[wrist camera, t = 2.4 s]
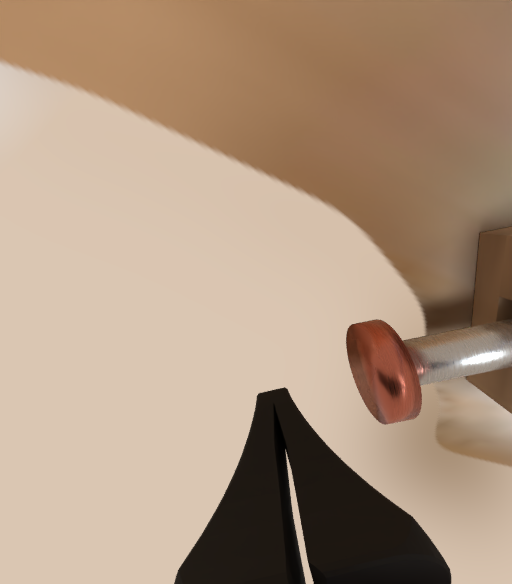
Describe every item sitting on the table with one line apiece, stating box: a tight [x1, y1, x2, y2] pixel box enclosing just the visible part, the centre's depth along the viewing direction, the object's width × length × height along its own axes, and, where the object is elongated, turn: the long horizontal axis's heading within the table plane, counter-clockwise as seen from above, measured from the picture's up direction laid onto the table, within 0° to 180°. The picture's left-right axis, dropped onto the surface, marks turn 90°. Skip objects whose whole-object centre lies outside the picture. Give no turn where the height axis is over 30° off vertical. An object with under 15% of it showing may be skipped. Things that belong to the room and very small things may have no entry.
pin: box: [346, 319, 512, 424], centre depth 13 cm, size 12×5×5 cm, turn 101°
